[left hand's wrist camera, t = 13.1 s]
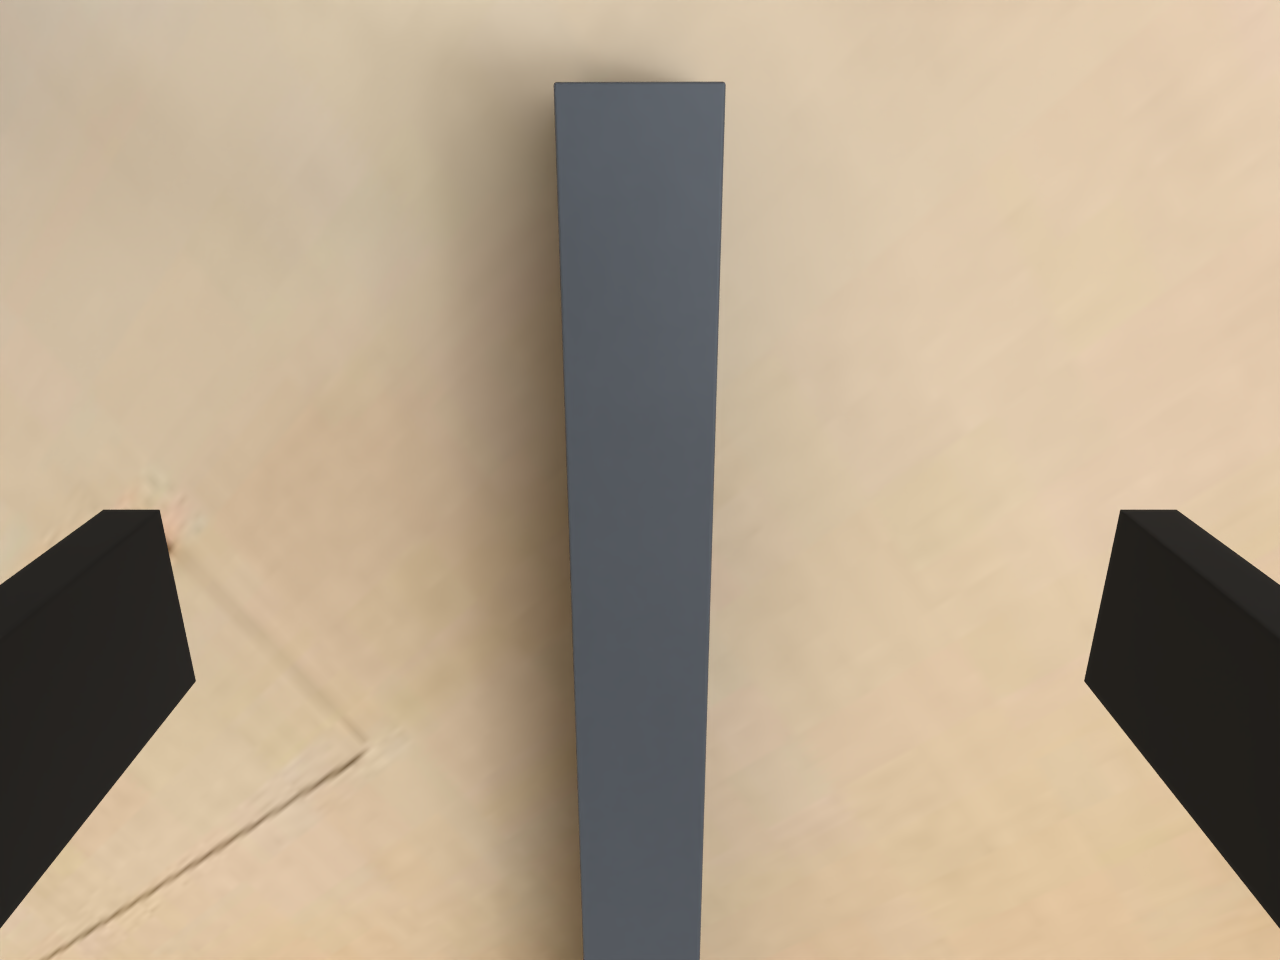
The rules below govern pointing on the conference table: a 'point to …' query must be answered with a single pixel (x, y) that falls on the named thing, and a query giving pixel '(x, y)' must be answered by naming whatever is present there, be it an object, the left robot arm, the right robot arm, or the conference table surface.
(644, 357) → the beam
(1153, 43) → the conference table surface
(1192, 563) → the left robot arm
